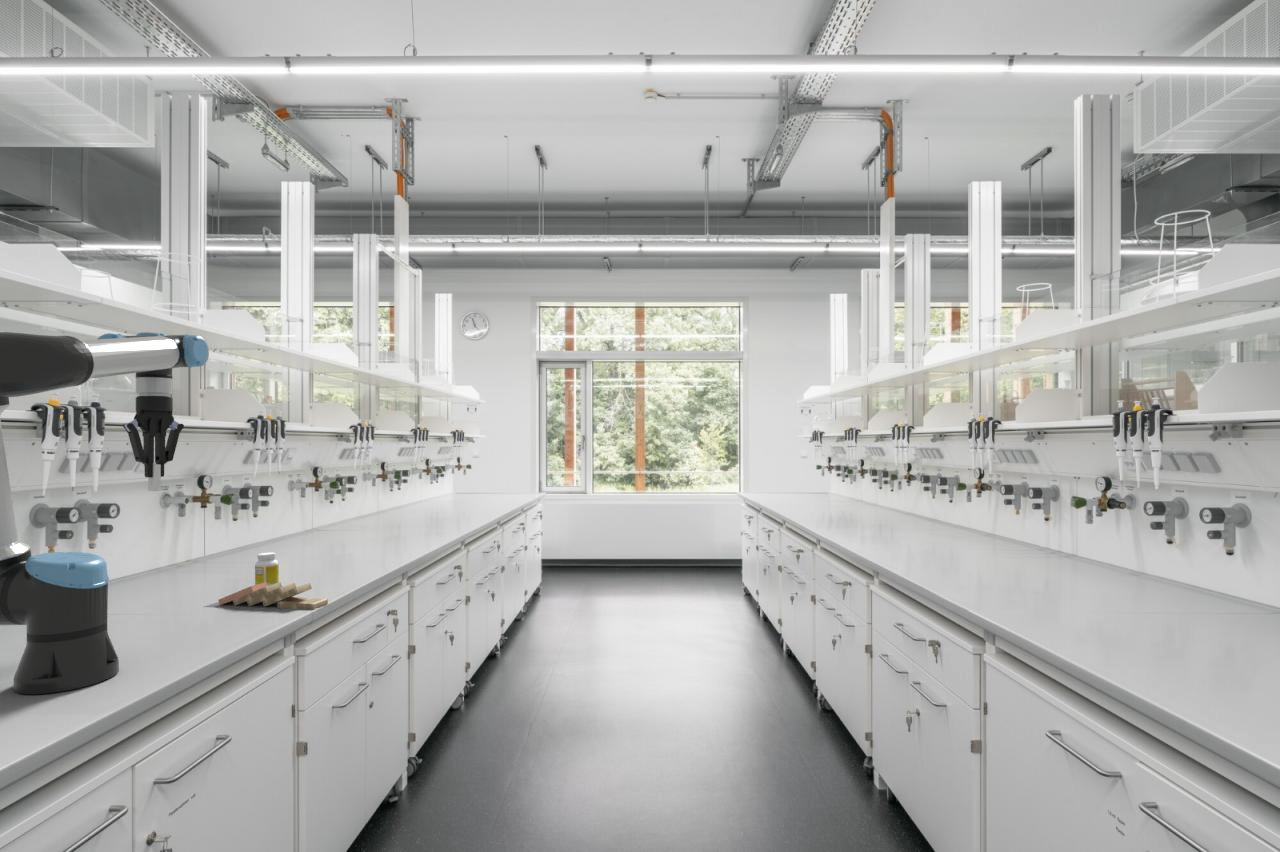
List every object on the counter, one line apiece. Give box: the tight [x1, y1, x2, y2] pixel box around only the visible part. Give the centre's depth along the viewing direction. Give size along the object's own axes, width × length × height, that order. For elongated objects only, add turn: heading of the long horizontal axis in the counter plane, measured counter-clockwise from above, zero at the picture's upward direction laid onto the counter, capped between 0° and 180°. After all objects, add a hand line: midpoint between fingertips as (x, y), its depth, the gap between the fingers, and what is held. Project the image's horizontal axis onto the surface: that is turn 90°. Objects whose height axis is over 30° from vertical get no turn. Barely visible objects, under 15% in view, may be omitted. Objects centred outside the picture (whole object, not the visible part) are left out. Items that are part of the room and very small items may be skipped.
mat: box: [203, 601, 280, 611], centre depth 186 cm, size 22×9×1 cm, turn 79°
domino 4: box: [262, 582, 313, 607], centre depth 184 cm, size 2×6×11 cm
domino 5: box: [277, 596, 329, 610], centre depth 183 cm, size 2×6×11 cm
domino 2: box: [233, 581, 283, 606], centre depth 186 cm, size 2×6×11 cm
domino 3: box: [247, 582, 297, 606], centre depth 185 cm, size 2×6×11 cm
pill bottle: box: [254, 552, 280, 586], centre depth 204 cm, size 6×6×11 cm
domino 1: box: [217, 582, 268, 605], centre depth 187 cm, size 2×6×11 cm
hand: (154, 490), depth 171 cm, fingers closed
